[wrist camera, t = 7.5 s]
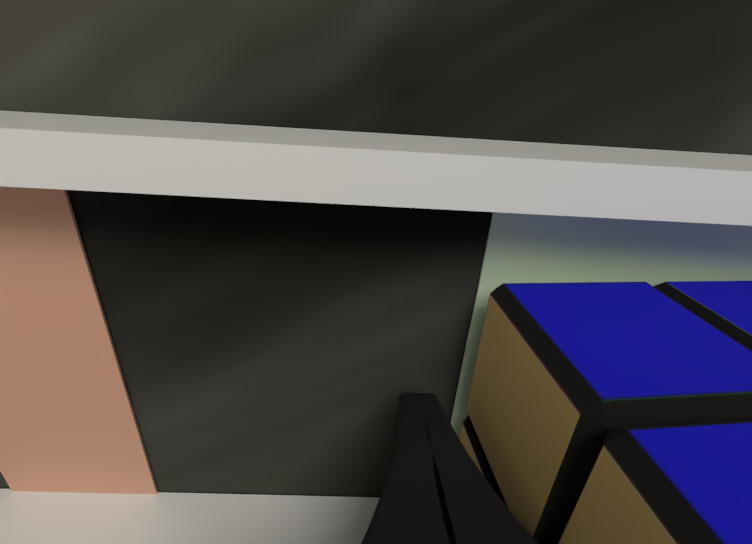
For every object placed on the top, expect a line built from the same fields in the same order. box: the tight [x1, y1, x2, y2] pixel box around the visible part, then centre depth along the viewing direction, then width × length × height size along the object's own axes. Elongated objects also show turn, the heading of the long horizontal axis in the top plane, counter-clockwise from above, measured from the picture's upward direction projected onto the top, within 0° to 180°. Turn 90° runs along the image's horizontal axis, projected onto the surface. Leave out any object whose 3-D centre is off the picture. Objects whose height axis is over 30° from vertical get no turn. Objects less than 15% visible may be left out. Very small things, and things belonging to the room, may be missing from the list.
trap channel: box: [0, 111, 752, 544], centre depth 13 cm, size 16×31×2 cm, turn 87°
